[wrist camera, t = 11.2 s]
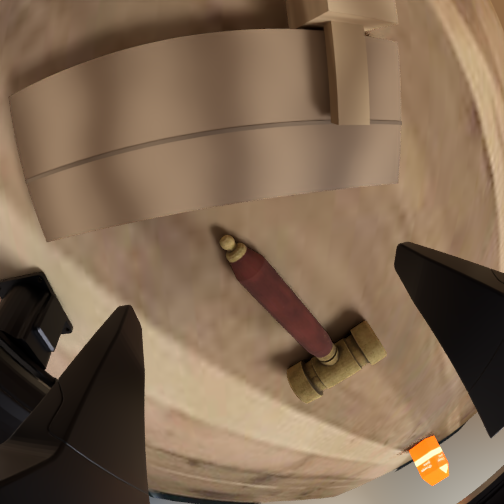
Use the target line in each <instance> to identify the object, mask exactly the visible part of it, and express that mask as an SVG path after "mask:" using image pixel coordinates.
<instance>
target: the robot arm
mask: <svg viewBox="0 0 504 504" xmlns="http://www.w3.org/2000/svg"><path fill="white" fill-rule="evenodd" d="M394 267H395V270H396V272H397V274H398V276H399V277H400V279H401V281H402V283H403V284H404V286H405V288H406V290H407V291H408V293H409V295H410V297H411V299H412V300H413V302H414V304H415V305H416V307H417V308H418V310H419V311H420V313H421V314H422V316H423V317H424V319H425V321H426V322H427V324H428V325H429V327H430V328H431V330H432V331H433V333H434V335H435V336H436V338H437V339H438V341H439V343H440V344H441V346H442V348H443V349H444V351H445V353H446V354H447V356H448V358H449V359H450V361H451V363H452V364H453V366H454V368H455V370H456V372H457V373H458V375H459V377H460V379H461V380H462V382H463V384H464V386H465V388H466V390H467V392H468V394H469V396H470V398H471V400H472V402H473V404H474V405H475V407H476V409H477V412H478V414H479V416H480V418H481V420H482V422H483V424H484V426H485V428H486V430H487V432H488V435H489V436H490V438H492V437H493V436H494V435H495V434H497V433H498V432H499V431H500V430H501V429H502V428H503V427H504V273H502V272H499V271H496V270H493V269H490V268H487V267H485V266H482V265H479V264H476V263H473V262H470V261H467V260H464V259H461V258H458V257H455V256H452V255H449V254H446V253H443V252H440V251H437V250H434V249H430V248H427V247H424V246H421V245H418V244H414V243H411V242H404V243H400V244H398V246H397V249H396V255H395V262H394ZM40 278H41V279H42V280H41V279H40ZM0 297H1V299H2V300H1V302H0V504H150V502H149V495H148V483H147V470H146V452H145V421H144V389H145V368H144V355H143V341H142V328H141V325H140V322H139V320H138V318H137V316H136V314H135V312H134V310H133V308H132V306H131V305H124V306H119V307H118V308H117V309H116V310H115V311H114V312H113V313H112V314H111V316H110V317H109V318H108V319H107V320H106V321H105V323H104V324H103V325H102V326H101V327H100V328H99V330H98V331H97V332H96V333H95V334H94V335H93V337H92V338H91V339H90V340H89V341H88V343H87V344H86V345H85V346H84V348H83V349H82V350H81V351H80V352H79V354H78V355H77V356H76V357H75V359H74V360H73V361H72V362H71V364H70V365H69V366H68V367H67V369H66V370H65V371H64V372H63V374H62V375H61V376H60V377H59V379H56V378H54V377H52V376H51V375H50V374H49V373H47V372H46V371H45V369H46V367H47V364H48V361H49V358H50V355H51V352H54V351H55V348H56V345H57V343H58V340H59V337H60V335H61V334H68V333H71V332H72V330H73V326H72V324H71V323H70V321H69V319H68V317H67V316H66V314H65V312H64V310H63V309H62V307H61V305H60V303H59V301H58V299H57V297H56V296H55V294H54V292H53V290H52V288H51V286H50V284H49V282H48V280H47V278H46V276H45V274H43V273H42V272H38V273H33V274H28V275H23V276H19V277H14V278H10V279H5V280H0ZM457 504H504V465H503V466H502V467H501V468H500V469H499V470H498V471H497V472H496V473H495V474H494V475H493V476H491V477H490V478H489V479H488V480H487V481H486V482H485V483H483V484H482V485H481V486H480V487H478V488H477V489H476V490H475V491H473V492H472V493H471V494H470V495H468V496H467V497H466V498H464V499H463V500H462V501H460V502H459V503H457Z"/></svg>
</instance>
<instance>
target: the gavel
mask: <svg viewBox="0 0 504 504" xmlns="http://www.w3.org/2000/svg"><path fill="white" fill-rule="evenodd" d="M220 245H221V247H222V248H223V249H225V250H227V253H226V257H227V259H228V260H229V262H230V264H231V266H232V269H233V271H234V274H235V276H236V278H237V280H238V281H239V282H240V283H241V284H242V285H243V286H244V287H245V288H246V289H247V290H248V291H249V292H250V293H251V294H252V296H253V297H254V298H255V299H256V300H257V301H258V302H259V303H260V304H261V305H262V306H263V307H264V308H265V309H266V310H267V311H268V312H269V313H270V314H271V315H272V316H273V317H274V318H275V319H276V320H277V321H278V322H279V323H280V324H281V325H282V326H283V327H284V328H285V329H286V330H287V331H288V332H289V333H290V334H291V335H292V336H293V337H294V338H295V339H296V340H297V341H298V342H299V343H300V344H301V345H302V346H303V347H304V348H305V349H306V350H307V351H308V352H309V353H311V354H312V355H314V357H313V358H311V360H310V361H309V362H307V363H305V362H303V361H301V362H299V363H297V364H295V365H294V366H292V367H290V368H289V369H288V370H287V378H288V381H289V384H290V386H291V388H292V390H293V391H294V393H295V394H296V396H297V397H298V398H299V399H300V400H301V401H303V402H305V403H310V402H311V401H313V400H315V399H317V398H319V397H321V396H322V395H323V390H325V389H327V388H331V387H333V386H335V385H336V384H338V383H340V382H341V381H343V380H345V379H346V378H348V377H350V376H351V375H353V374H354V373H356V372H358V371H359V370H361V369H362V367H363V366H364V365H366V364H367V363H370V364H371V365H374V364H375V363H377V362H378V361H380V360H381V359H383V358H384V357H386V354H387V353H386V351H385V349H384V348H383V346H382V344H381V343H380V341H379V339H378V338H377V336H376V335H375V333H374V331H373V330H372V328H371V327H370V325H369V324H368V322H367V321H363V322H361V323H360V324H359V325H357V326H356V327H354V328H353V329H351V330H350V331H351V333H352V334H351V335H350V336H348V337H347V338H345V339H344V338H343V339H341V340H340V341H338V342H337V343H335V344H333V343H332V341H331V339H330V337H329V335H328V333H327V332H326V331H325V330H324V329H323V327H322V326H321V325H320V324H319V323H318V321H317V320H316V319H315V318H314V317H313V315H312V314H311V313H310V312H309V311H308V309H307V308H306V307H305V306H304V305H303V303H302V302H301V301H300V300H299V299H298V297H297V296H296V295H295V294H294V293H293V291H292V290H291V289H290V288H289V287H288V285H287V284H286V283H285V282H284V281H283V279H282V278H281V277H280V276H279V275H278V273H277V272H276V271H275V270H274V269H273V268H272V266H271V265H270V264H269V263H268V262H267V260H266V259H265V258H264V257H263V256H262V255H260V254H258V253H256V252H255V251H253V250H251V249H249V248H247V247H246V246H245V245H244V244H243V243H237V244H236V243H235V240H234V238H233V237H231V236H230V235H225V236H223V237H222V238H221V240H220Z"/></svg>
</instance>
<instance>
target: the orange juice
mask: <svg viewBox="0 0 504 504" xmlns="http://www.w3.org/2000/svg"><path fill="white" fill-rule="evenodd" d="M409 452H410V454H411V456H412V458H413V460H414V463H415V465H416V467H417V469H418V471H419V473H420V475H421V477H422V479H424V480H425V481H426V482H428V483H429V484H430V485H432V486H433V485H435V484H436V483H438V482H440V481H441V480H443V479H444V478H446V477H448V476H449V470H448V461H447V460H446V457H445V455H444V453H443V452H442V449H441V447H440V446H439V444H438V442H437V440H436V439H435V437H434V436H431V437H429V438H426V439H424V440H423V441H421V442H420V443H419V444H417V445H416V446H415V447H413V448H412V449H410V450H409Z"/></svg>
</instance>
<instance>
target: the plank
mask: <svg viewBox="0 0 504 504" xmlns="http://www.w3.org/2000/svg"><path fill="white" fill-rule="evenodd" d="M365 41H366V52H367V65H368V81H369V106H370V125H336V124H333V123H331V114H330V94H329V79H328V66H327V54H326V44H325V34H324V31H320V30H304V29H250V30H234V31H222V32H212V33H204V34H197V35H190V36H183V37H178V38H172V39H167V40H162V41H157V42H152V43H148V44H144V45H140V46H136V47H132V48H128V49H124V50H121V51H117V52H114V53H111V54H107V55H104V56H101V57H98V58H95V59H92V60H89V61H86V62H84V63H81V64H78V65H76V66H73V67H70V68H68V69H65V70H63V71H61V72H58V73H56V74H54V75H51V76H49V77H47V78H45V79H42V80H40V81H38V82H36V83H34V84H32V85H30V86H28V87H26V88H24V89H22V90H20V91H18V92H16V93H15V94H13V95H11V96H9V102H10V109H11V116H12V122H13V128H14V133H15V138H16V143H17V147H18V152H19V156H20V160H21V164H22V168H23V172H24V176H25V179H26V180H25V181H26V184H27V186H28V189H29V193H30V196H31V199H32V202H33V205H34V208H35V211H36V214H37V217H38V220H39V223H40V225H41V228H42V231H43V233H44V236H45V238H46V241H47V242H50V241H54V240H58V239H62V238H66V237H70V236H74V235H78V234H83V233H87V232H91V231H96V230H100V229H104V228H109V227H114V226H118V225H123V224H127V223H132V222H137V221H142V220H147V219H152V218H157V217H162V216H167V215H172V214H178V213H183V212H189V211H194V210H200V209H205V208H211V207H217V206H223V205H229V204H235V203H242V202H248V201H255V200H261V199H268V198H275V197H282V196H289V195H297V194H304V193H312V192H320V191H329V190H337V189H346V188H355V187H365V186H375V185H386V184H397V183H398V178H399V165H400V146H401V125H402V121H401V80H400V63H399V50H398V42H395V41H391V40H386V39H381V38H375V37H369V36H365Z"/></svg>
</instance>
